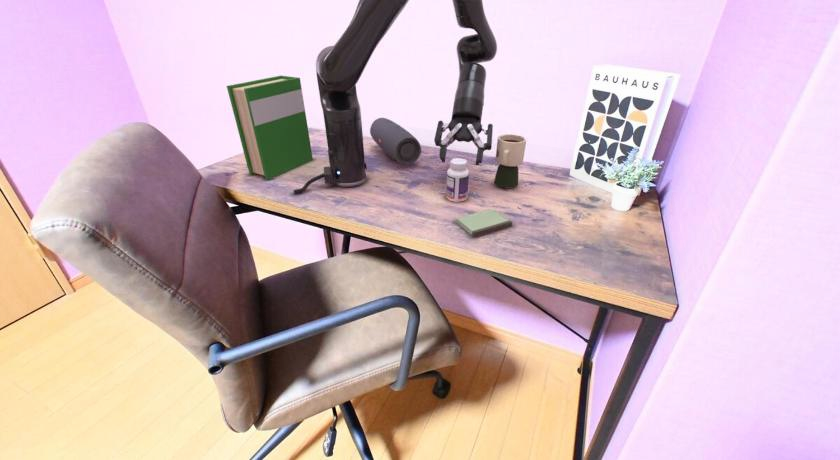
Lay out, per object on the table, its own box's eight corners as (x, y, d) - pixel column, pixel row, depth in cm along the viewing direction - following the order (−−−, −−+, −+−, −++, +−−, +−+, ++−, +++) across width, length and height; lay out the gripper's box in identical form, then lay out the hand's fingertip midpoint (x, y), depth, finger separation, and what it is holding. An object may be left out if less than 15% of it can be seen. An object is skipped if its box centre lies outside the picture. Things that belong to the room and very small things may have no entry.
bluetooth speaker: (369, 147, 125) (367, 117, 120) (394, 143, 128) (393, 114, 123) (393, 171, 108) (392, 137, 102) (422, 166, 111) (422, 133, 106)
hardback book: (267, 180, 102) (246, 89, 90) (249, 174, 105) (226, 85, 93) (312, 159, 115) (299, 77, 103) (295, 155, 118) (280, 75, 106)
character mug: (499, 175, 105) (504, 130, 98) (523, 180, 102) (531, 134, 95) (486, 190, 97) (491, 142, 90) (513, 196, 94) (520, 147, 87)
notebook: (473, 237, 78) (474, 232, 77) (456, 222, 83) (456, 217, 82) (511, 226, 82) (512, 221, 81) (492, 212, 87) (493, 208, 86)
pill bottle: (467, 193, 96) (470, 157, 90) (467, 202, 91) (470, 165, 86) (446, 192, 96) (447, 156, 91) (445, 201, 91) (447, 164, 86)
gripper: (439, 94, 92) (429, 153, 89) (497, 96, 90) (489, 158, 86) (442, 110, 100) (433, 166, 96) (496, 113, 97) (488, 170, 94)
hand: (460, 162), depth 91 cm, fingers open, 8 cm apart
